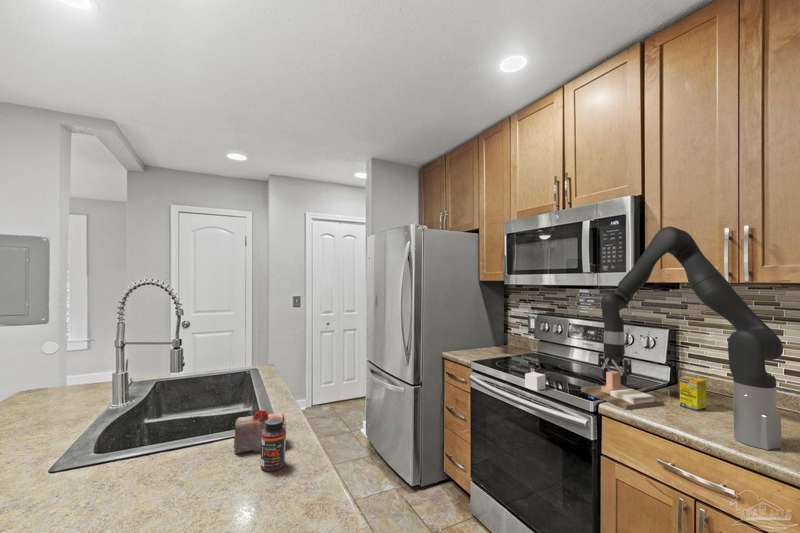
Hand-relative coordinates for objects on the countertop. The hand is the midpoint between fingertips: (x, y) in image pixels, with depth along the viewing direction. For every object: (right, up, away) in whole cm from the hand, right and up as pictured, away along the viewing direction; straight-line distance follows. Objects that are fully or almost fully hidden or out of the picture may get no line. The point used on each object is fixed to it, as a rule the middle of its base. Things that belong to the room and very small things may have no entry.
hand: (614, 381), depth 150 cm
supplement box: (+22, -6, -14) cm, 26 cm away
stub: (0, -4, -1) cm, 4 cm away
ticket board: (+1, -6, -3) cm, 6 cm away
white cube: (-29, -6, +9) cm, 31 cm away
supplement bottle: (-120, -4, -57) cm, 133 cm away
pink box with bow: (-127, -4, -47) cm, 136 cm away
